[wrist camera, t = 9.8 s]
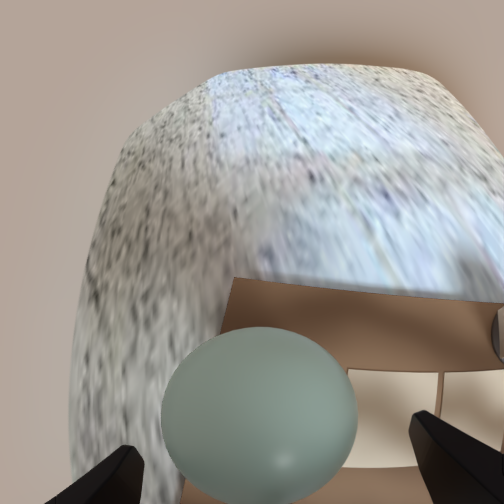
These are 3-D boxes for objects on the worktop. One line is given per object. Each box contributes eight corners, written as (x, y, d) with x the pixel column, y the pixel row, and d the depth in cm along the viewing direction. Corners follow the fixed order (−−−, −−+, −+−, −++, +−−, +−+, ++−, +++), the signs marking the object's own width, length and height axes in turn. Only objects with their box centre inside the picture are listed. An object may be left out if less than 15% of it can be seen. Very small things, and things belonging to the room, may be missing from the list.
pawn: (336, 438, 13) (420, 496, 3) (246, 462, 13) (148, 548, 3) (311, 357, 16) (337, 255, 6) (225, 381, 16) (101, 321, 6)
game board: (492, 539, 5) (526, 553, 1) (174, 543, 11) (140, 571, 6) (526, 308, 15) (562, 281, 10) (236, 282, 20) (218, 242, 16)
